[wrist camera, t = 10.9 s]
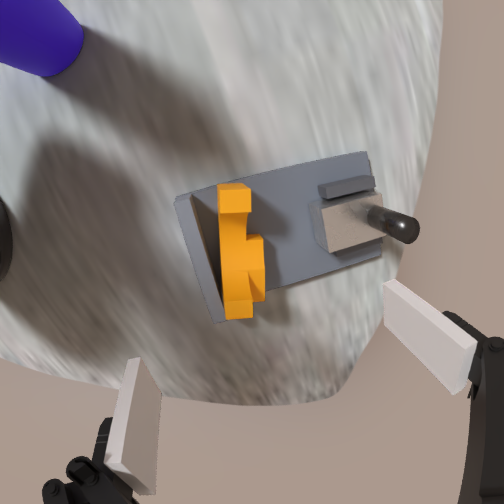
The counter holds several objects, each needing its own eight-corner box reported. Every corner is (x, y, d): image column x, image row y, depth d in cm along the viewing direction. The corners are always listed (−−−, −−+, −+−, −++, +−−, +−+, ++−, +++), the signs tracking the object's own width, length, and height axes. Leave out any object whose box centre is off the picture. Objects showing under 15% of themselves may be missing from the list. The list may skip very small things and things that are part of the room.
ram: (315, 242, 34) (355, 274, 25) (308, 203, 33) (348, 222, 23) (370, 226, 34) (420, 251, 25) (365, 188, 33) (417, 202, 24)
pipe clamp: (259, 288, 35) (271, 315, 29) (221, 291, 34) (225, 319, 28) (258, 182, 31) (271, 188, 25) (217, 184, 31) (219, 190, 25)
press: (210, 301, 36) (211, 324, 31) (176, 196, 32) (171, 204, 27) (375, 251, 38) (398, 265, 32) (360, 151, 33) (385, 151, 28)
